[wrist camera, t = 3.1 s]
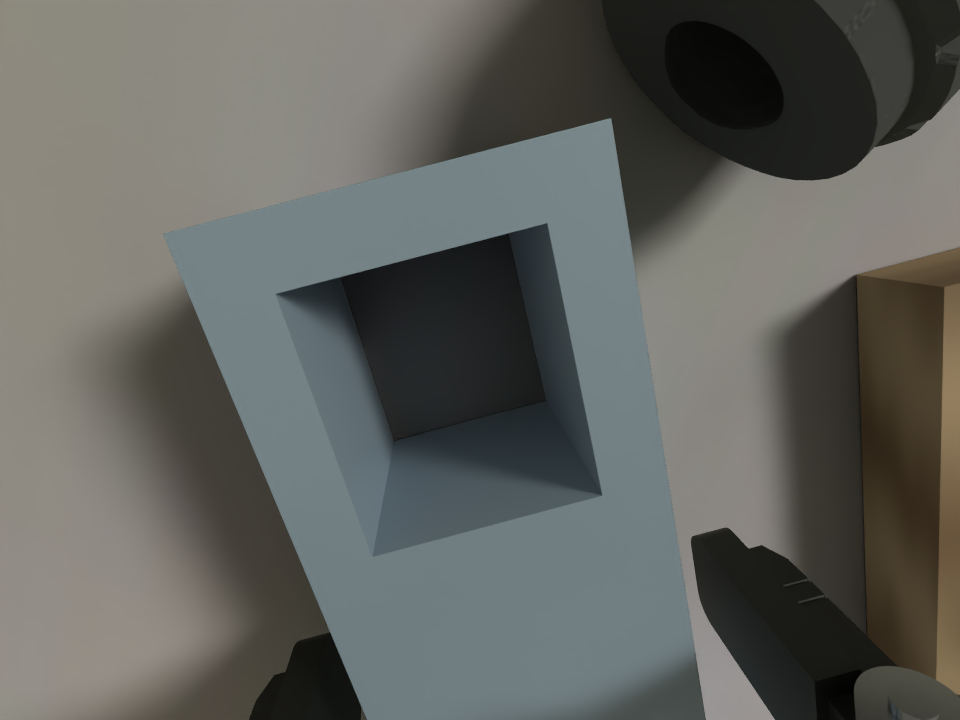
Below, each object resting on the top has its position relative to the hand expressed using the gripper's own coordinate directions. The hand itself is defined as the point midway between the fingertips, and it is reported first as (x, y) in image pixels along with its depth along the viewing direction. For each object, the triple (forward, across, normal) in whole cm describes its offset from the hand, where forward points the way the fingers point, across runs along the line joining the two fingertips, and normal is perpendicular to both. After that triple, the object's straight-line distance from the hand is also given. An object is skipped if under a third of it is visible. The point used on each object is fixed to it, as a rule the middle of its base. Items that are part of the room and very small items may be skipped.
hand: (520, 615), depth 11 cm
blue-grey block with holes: (+2, 0, 0) cm, 2 cm away
